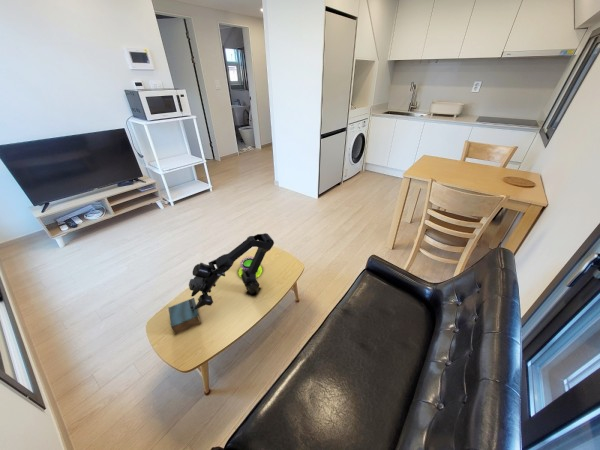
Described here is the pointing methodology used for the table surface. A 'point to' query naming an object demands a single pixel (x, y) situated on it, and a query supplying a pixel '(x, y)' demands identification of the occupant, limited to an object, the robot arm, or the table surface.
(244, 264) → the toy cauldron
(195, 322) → the box
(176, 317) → the lid
